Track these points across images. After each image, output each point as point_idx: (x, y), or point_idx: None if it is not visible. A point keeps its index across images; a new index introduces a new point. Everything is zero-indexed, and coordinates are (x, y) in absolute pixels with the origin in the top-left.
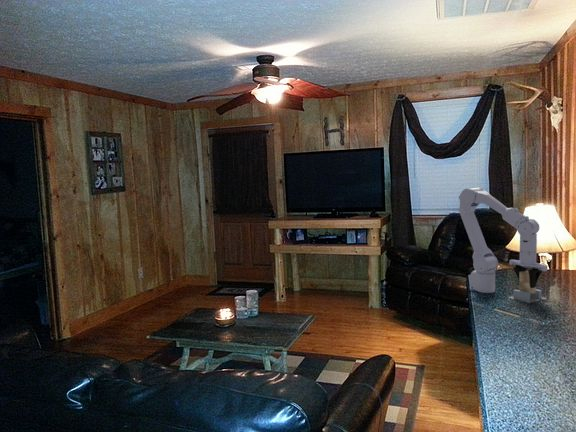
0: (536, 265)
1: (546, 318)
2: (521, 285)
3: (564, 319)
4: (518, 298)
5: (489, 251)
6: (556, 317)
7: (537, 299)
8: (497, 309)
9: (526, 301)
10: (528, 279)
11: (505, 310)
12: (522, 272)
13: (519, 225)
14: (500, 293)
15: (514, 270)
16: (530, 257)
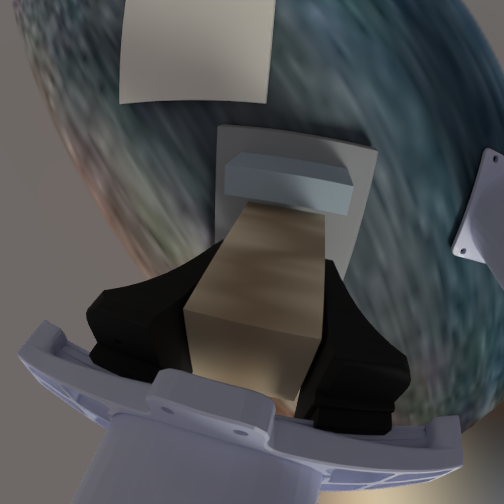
0: (56, 377)
1: (83, 38)
2: (303, 239)
3: (54, 89)
4: (308, 162)
5: None
6: (72, 81)
7: (229, 228)
8: None
9: (243, 144)
10: (213, 265)
11: None
12: (276, 330)
13: None
14: (449, 260)
15: (389, 347)
16: (77, 498)
